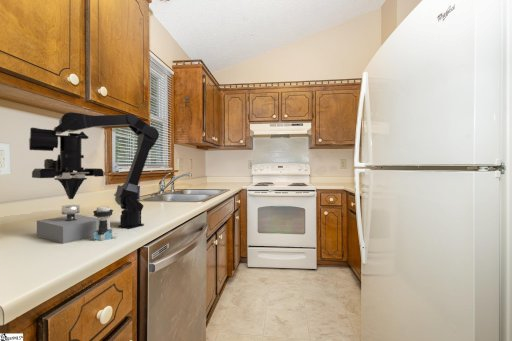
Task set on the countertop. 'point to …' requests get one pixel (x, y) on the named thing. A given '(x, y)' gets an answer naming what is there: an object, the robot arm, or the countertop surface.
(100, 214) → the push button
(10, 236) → the countertop surface
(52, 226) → the panel
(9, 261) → the countertop surface
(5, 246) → the countertop surface
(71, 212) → the knob
